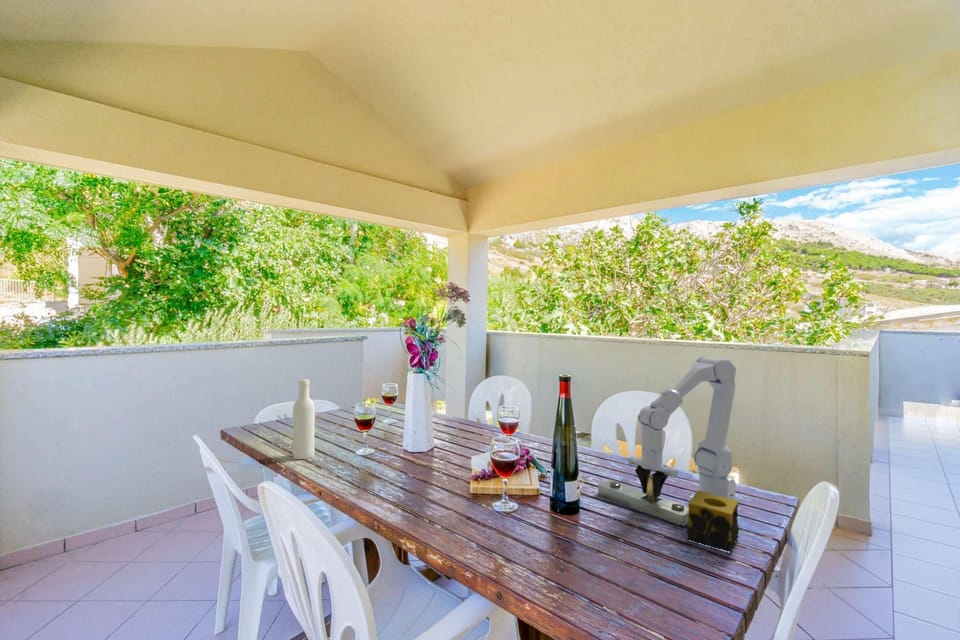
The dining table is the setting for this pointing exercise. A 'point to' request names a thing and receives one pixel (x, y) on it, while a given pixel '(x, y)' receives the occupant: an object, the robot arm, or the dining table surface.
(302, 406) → the bottle
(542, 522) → the dining table surface
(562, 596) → the dining table surface
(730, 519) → the yellow block with hole
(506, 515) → the dining table surface
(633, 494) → the bolted metal base plate
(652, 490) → the pin
